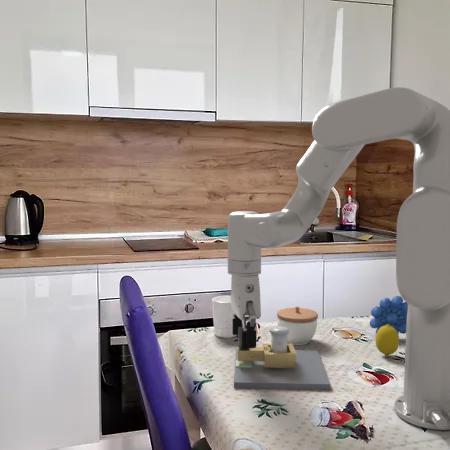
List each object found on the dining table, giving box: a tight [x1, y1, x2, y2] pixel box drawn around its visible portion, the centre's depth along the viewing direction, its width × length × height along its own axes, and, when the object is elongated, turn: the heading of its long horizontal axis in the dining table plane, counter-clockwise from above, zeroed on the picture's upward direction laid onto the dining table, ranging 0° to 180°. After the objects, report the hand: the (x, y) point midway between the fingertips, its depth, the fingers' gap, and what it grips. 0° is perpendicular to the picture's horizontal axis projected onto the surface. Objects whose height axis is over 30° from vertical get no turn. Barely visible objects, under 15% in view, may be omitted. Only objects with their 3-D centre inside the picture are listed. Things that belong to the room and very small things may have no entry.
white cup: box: [211, 294, 238, 339], centre depth 142 cm, size 8×8×10 cm
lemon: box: [375, 324, 400, 357], centre depth 126 cm, size 6×6×8 cm
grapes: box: [369, 295, 408, 335], centre depth 139 cm, size 12×7×12 cm, turn 72°
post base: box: [233, 325, 331, 391], centre depth 117 cm, size 20×20×10 cm
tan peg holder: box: [237, 326, 296, 368], centre depth 117 cm, size 13×7×8 cm, turn 90°
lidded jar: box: [276, 306, 319, 346], centre depth 137 cm, size 11×11×9 cm
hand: (243, 340), depth 117 cm, fingers open, 8 cm apart
